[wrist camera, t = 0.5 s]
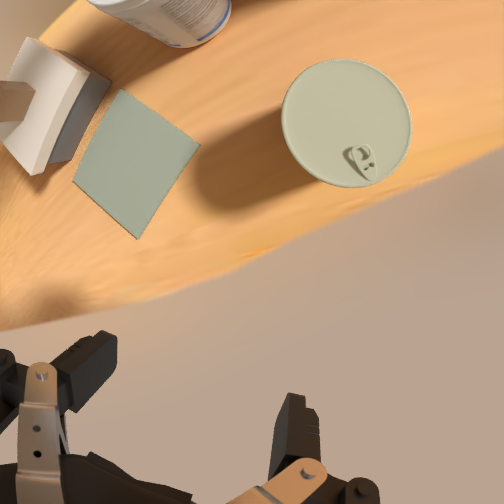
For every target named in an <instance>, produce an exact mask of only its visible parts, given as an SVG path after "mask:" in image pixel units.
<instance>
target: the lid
mask: <svg viewBox="0 0 504 504" xmlns="http://www.w3.org/2000/svg"><path fill="white" fill-rule="evenodd" d="M89 74H90V72H88V71H87V70H85V69H84V68H82V67H81V66H79V65H78V64H76V63H75V62H73V61H72V60H70V59H68V58H67V57H65V56H64V55H62V54H61V53H59V52H57V51H56V50H54V49H53V48H51V47H50V46H48V45H46V44H45V43H43V42H42V41H40V40H38V39H34V38H29V37H26V39H25V41H24V43H23V45H22V47H21V49H20V51H19V53H18V55H17V57H16V59H15V61H14V63H13V65H12V68H11V70H10V72H9V74H8V77H7V79H6V81H0V141H1V142H2V143H3V144H4V146H5V147H6V148H7V149H8V150H9V151H10V153H11V154H12V155H13V156H14V157H15V158H16V160H17V161H18V162H19V163H20V164H21V165H22V166H23V168H24V169H25V170H26V171H27V172H28V173H29V174H30V175H31V176H32V175H36V174H41V173H43V172H44V169H45V167H46V164H47V161H48V159H49V156H50V154H51V151H52V149H53V147H54V144H55V142H56V139H57V137H58V135H59V133H60V130H61V128H62V126H63V124H64V122H65V120H66V118H67V115H68V113H69V111H70V109H71V107H72V105H73V103H74V101H75V100H76V98H77V96H78V94H79V92H80V90H81V88H82V87H83V85H84V83H85V81H86V79H87V78H88V76H89Z"/></svg>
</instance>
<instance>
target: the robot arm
mask: <svg viewBox="0 0 504 504" xmlns="http://www.w3.org/2000/svg"><path fill="white" fill-rule="evenodd" d="M116 365H117V337H116V336H115V335H113V334H110V333H108V332H106V331H103V330H101V331H99V332H98V333H97V334H96V335H95V336H93V337H92V336H87V337H84V338H81V339H79V340H78V341H77V342H76V343H74V345H72V346H70V347H69V348H68V350H66V351H64V352H63V353H62V354H60V355H59V356H58V357H57V358H55V359H54V360H53V361H52V362H50V363H49V364H48V363H44V362H38V363H34V364H32V365H31V366H30V367H28V366H26V365H22V364H19V363H16V361H15V357H14V355H13V353H12V352H11V351H9V350H6V349H0V434H1V433H2V432H3V431H4V430H5V429H6V428H7V427H8V425H9V424H10V423H11V422H12V421H13V420H14V419H15V418H16V417H17V416H18V415H19V417H18V439H17V440H18V443H17V454H18V456H17V459H18V463H11V464H4V465H0V504H196V503H194V502H193V501H191V498H192V494H190V493H187V492H183V491H181V490H177V489H175V488H171V487H169V486H166V485H161V484H155V483H149V482H144V481H140V480H136V479H134V478H133V477H131V476H130V475H128V474H127V473H126V472H124V471H123V470H122V469H120V468H119V467H118V466H116V465H115V464H114V463H112V462H110V461H108V460H106V459H104V458H102V457H100V456H98V455H97V454H94V453H93V452H89V454H88V455H87V456H82V455H75V454H70V452H69V447H68V440H67V430H66V417H65V412H66V411H67V410H68V409H69V410H71V411H73V412H75V413H77V412H78V411H79V410H80V409H81V408H82V407H83V406H84V405H85V403H86V402H87V401H88V400H89V398H91V397H92V396H93V395H94V393H95V392H96V391H97V390H98V389H99V388H100V387H101V386H102V385H103V384H104V382H105V381H106V380H107V379H108V378H109V377H110V376H111V375H112V374H113V372H114V370H115V368H116ZM305 404H306V400H305V396H303V395H298V394H293V393H288V394H287V396H286V398H285V401H284V403H283V405H282V408H281V410H280V412H279V414H278V417H277V420H276V423H275V427H274V436H273V443H272V451H271V459H270V467H269V474H268V482H266V483H265V484H264V485H262V486H260V487H259V486H255V487H252V488H251V489H249V490H247V491H246V492H244V493H243V494H241V495H240V496H238V497H236V498H235V499H233V500H231V501H230V502H228V503H226V504H380V497H379V489H378V487H377V486H376V484H375V483H374V482H373V481H371V480H369V479H366V478H362V477H360V478H359V477H358V478H354V479H352V480H350V481H349V482H346V481H344V480H340V479H338V478H335V477H333V476H331V475H329V474H328V473H327V470H326V468H325V466H324V465H323V464H322V463H321V456H320V436H319V434H320V433H319V418H318V416H317V414H316V412H315V411H314V409H310V408H306V405H305Z"/></svg>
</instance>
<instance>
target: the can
mask: <svg viewBox="0 0 504 504" xmlns="http://www.w3.org/2000/svg"><path fill="white" fill-rule="evenodd" d="M281 127H282V132H283V136H284V139H285V142H286V144H287V147H288V149H289V151H290V152H291V154H292V155H293V157H294V158H295V160H296V161H297V162H298V163H299V165H300V166H302V167H303V168H304V169H305V170H306V171H307V172H308V173H309V174H311V175H312V176H314V177H315V178H317V179H319V180H321V181H323V182H325V183H328V184H330V185H334V186H338V187H344V188H360V187H366V186H370V185H373V184H375V183H378V182H380V181H382V180H384V179H385V178H387V177H388V176H390V175H391V174H392V173H393V172H394V171H395V170H396V169H397V168H398V167H399V166H400V164H401V163H402V161H403V160H404V158H405V156H406V154H407V152H408V150H409V147H410V143H411V137H412V119H411V114H410V110H409V107H408V104H407V102H406V100H405V98H404V96H403V94H402V92H401V91H400V89H399V88H398V87H397V85H396V84H395V83H394V82H393V81H392V80H391V79H390V78H389V77H388V76H387V75H386V74H384V73H383V72H381V71H380V70H378V69H377V68H375V67H373V66H371V65H369V64H366V63H364V62H361V61H357V60H351V59H331V60H326V61H323V62H319V63H317V64H315V65H313V66H311V67H309V68H307V69H306V70H304V71H303V72H302V73H301V74H300V75H299V76H298V77H297V78H296V79H295V80H294V81H293V82H292V84H291V85H290V87H289V89H288V91H287V92H286V95H285V97H284V100H283V104H282V110H281Z"/></svg>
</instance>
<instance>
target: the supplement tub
mask: <svg viewBox="0 0 504 504" xmlns="http://www.w3.org/2000/svg"><path fill="white" fill-rule="evenodd" d="M87 1H88V2H89V3H90V4H92V5H94V6H95V7H96V8H98V9H99V10H101V11H103V12H105V13H107V14H109V15H111V16H113V17H115V18H117V19H120V20H122V21H124V22H126V23H128V24H130V25H131V26H133V27H135V28H137V29H139V30H141V31H143V32H145V33H147V34H148V35H150V36H152V37H154V38H156V39H157V40H159V41H161V42H163V43H164V44H166V45H169V46H171V47H176V48H189V47H194V46H197V45H200V44H202V43H204V42H206V41H208V40H210V39H211V38H213V37H214V36H216V35H217V34H218V33H219V32H220V31H221V30H222V29H223V28H224V26H225V25H226V24H227V22H228V20H229V18H230V15H231V10H232V4H231V0H87Z"/></svg>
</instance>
